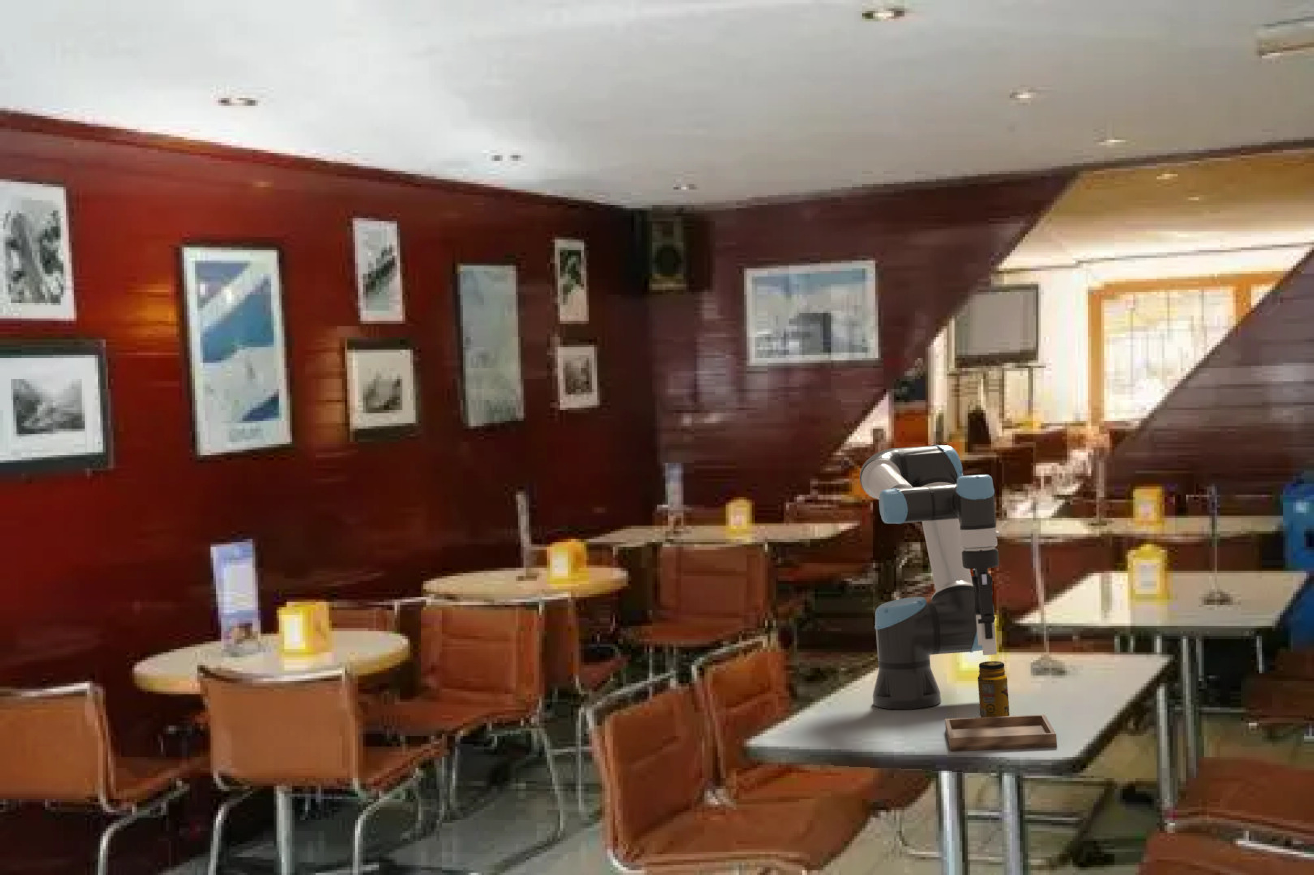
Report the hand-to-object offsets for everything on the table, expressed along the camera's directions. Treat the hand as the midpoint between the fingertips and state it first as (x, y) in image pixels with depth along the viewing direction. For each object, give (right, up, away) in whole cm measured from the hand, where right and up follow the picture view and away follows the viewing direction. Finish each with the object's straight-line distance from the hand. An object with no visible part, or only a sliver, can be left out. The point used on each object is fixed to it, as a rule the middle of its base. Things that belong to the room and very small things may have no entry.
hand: (987, 649), depth 312 cm
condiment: (+1, -15, +1) cm, 15 cm away
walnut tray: (-1, -15, -17) cm, 23 cm away
